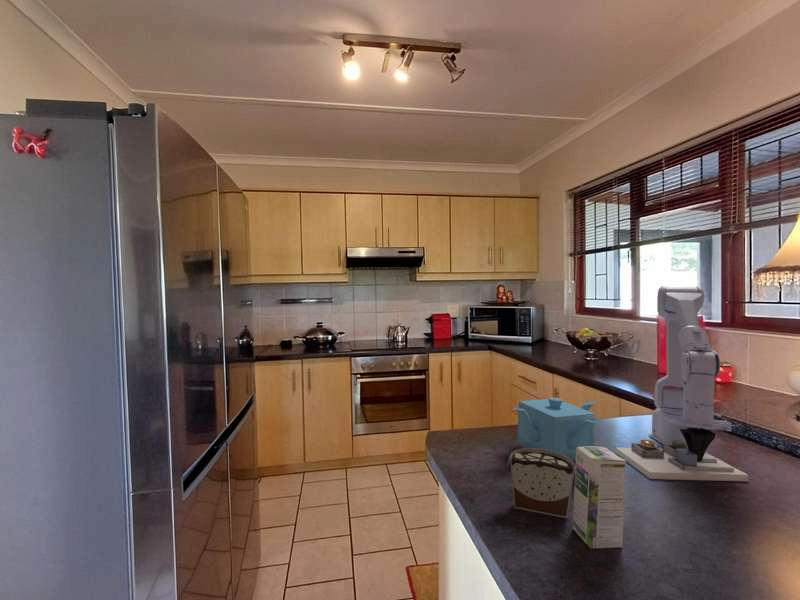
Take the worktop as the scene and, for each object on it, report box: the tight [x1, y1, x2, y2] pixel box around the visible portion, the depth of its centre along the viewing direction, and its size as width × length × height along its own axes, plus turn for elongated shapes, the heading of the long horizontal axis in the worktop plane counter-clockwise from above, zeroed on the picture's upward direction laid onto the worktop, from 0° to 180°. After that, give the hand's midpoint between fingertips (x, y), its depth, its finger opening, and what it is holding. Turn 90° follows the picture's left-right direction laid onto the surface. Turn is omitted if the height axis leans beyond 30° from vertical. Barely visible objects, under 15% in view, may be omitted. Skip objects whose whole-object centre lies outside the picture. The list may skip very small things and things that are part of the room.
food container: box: [507, 447, 576, 519], centre depth 75 cm, size 12×6×10 cm, turn 71°
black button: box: [672, 440, 687, 450], centre depth 98 cm, size 3×3×2 cm
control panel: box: [614, 442, 749, 482], centre depth 94 cm, size 14×22×3 cm, turn 90°
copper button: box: [640, 439, 656, 450], centre depth 98 cm, size 3×3×2 cm
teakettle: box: [512, 397, 599, 464], centre depth 98 cm, size 19×19×15 cm
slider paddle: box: [675, 448, 697, 466], centre depth 91 cm, size 4×2×3 cm, turn 0°
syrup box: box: [572, 445, 627, 550], centre depth 65 cm, size 6×6×14 cm
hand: (695, 459), depth 91 cm, fingers closed
